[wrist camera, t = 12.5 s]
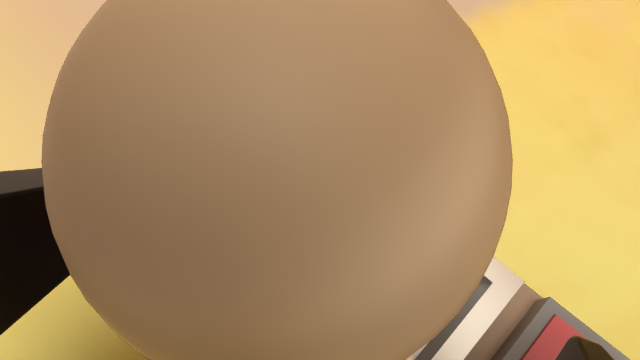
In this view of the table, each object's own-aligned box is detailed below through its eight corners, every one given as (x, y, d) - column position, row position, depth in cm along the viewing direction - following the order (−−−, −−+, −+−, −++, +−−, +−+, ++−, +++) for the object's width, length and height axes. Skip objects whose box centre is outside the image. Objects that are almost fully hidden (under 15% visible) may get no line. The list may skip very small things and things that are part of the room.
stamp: (403, 377, 15) (843, 696, 1) (272, 359, 15) (-399, 438, 2) (410, 244, 16) (632, -248, 3) (291, 232, 17) (6, -218, 3)
